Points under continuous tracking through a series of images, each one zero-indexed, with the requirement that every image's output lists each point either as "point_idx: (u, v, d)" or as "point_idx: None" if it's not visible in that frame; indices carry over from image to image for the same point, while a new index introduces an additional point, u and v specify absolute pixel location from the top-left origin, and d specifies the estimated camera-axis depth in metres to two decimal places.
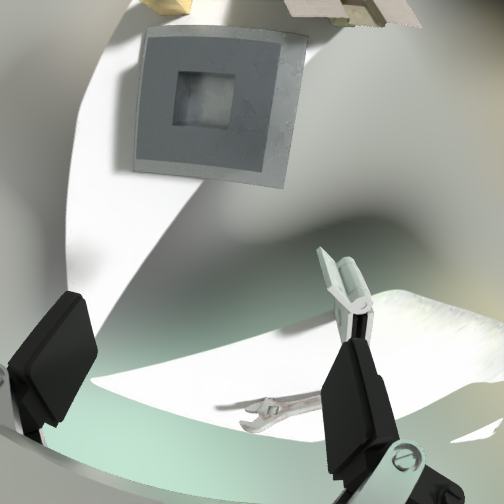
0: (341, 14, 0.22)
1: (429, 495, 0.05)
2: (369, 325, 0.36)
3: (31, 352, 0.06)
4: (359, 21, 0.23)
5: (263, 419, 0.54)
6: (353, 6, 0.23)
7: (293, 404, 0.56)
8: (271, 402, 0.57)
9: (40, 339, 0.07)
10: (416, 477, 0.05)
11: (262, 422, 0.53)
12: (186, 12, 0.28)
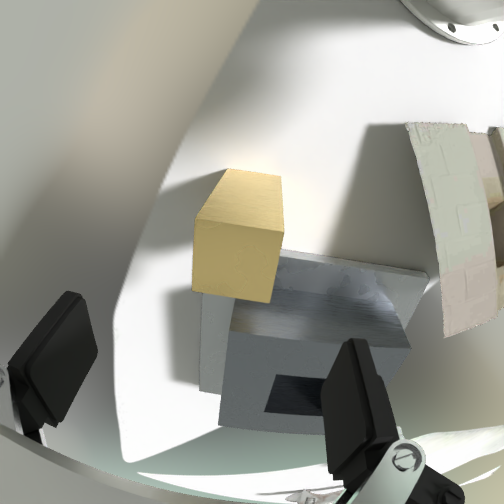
0: (492, 312, 0.17)
1: (429, 495, 0.05)
2: None
3: (31, 352, 0.06)
4: (501, 300, 0.18)
5: None
6: (501, 265, 0.18)
7: (327, 496, 0.52)
8: (308, 494, 0.54)
9: (40, 339, 0.07)
10: (416, 477, 0.05)
11: None
12: None
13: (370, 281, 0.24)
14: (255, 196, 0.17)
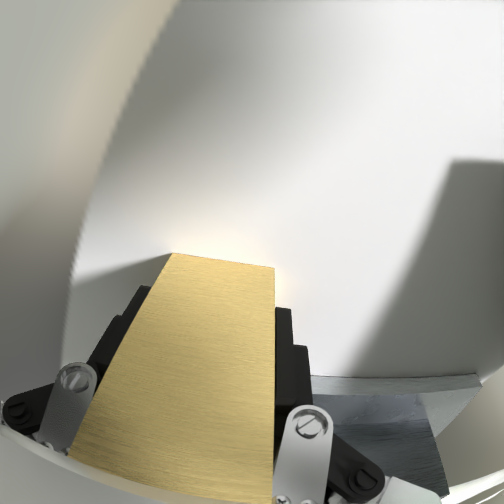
0: None
1: (339, 470, 0.06)
2: None
3: None
4: None
5: None
6: None
7: None
8: None
9: None
10: (330, 439, 0.06)
11: None
12: None
13: (406, 405, 0.14)
14: (207, 379, 0.07)
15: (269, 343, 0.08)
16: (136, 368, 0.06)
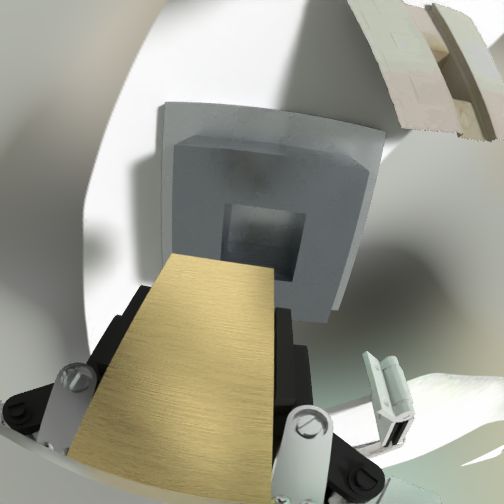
0: (455, 126, 0.17)
1: (339, 470, 0.06)
2: (408, 426, 0.32)
3: None
4: (467, 130, 0.18)
5: None
6: (458, 100, 0.18)
7: None
8: None
9: None
10: (330, 439, 0.06)
11: None
12: None
13: (322, 129, 0.24)
14: (206, 381, 0.07)
15: (268, 344, 0.08)
16: (135, 369, 0.06)
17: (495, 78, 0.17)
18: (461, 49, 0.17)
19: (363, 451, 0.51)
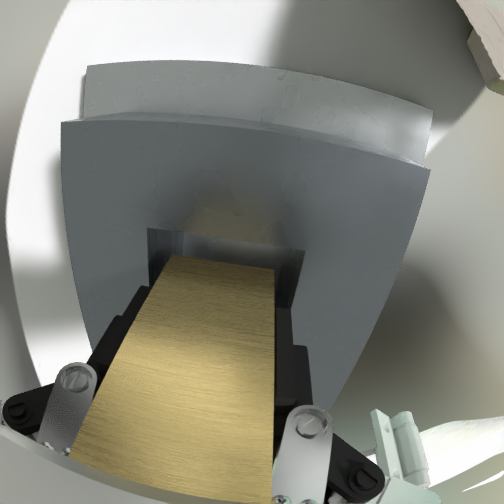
0: None
1: (339, 470, 0.06)
2: None
3: None
4: None
5: None
6: None
7: None
8: None
9: None
10: (330, 439, 0.06)
11: None
12: None
13: (333, 99, 0.14)
14: (207, 382, 0.07)
15: (269, 345, 0.08)
16: (136, 370, 0.06)
17: None
18: None
19: None
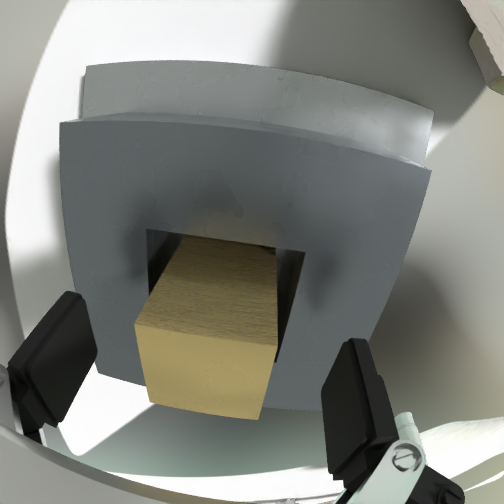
0: None
1: (429, 495, 0.05)
2: None
3: (31, 352, 0.06)
4: None
5: None
6: None
7: None
8: None
9: (40, 339, 0.07)
10: (416, 477, 0.05)
11: None
12: None
13: (334, 99, 0.14)
14: (235, 260, 0.12)
15: (272, 247, 0.13)
16: (191, 256, 0.12)
17: None
18: None
19: None
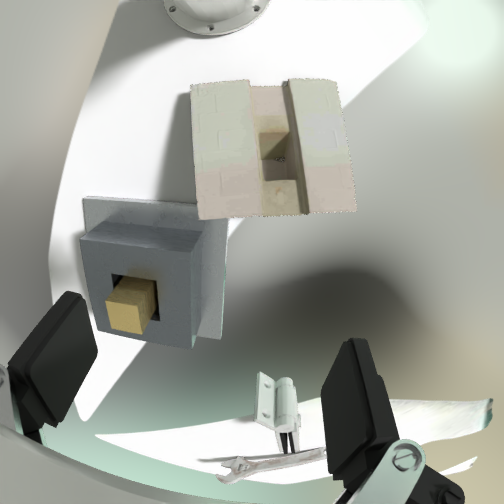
0: (255, 210, 0.28)
1: (429, 495, 0.05)
2: (295, 437, 0.42)
3: (31, 352, 0.06)
4: (279, 208, 0.29)
5: (234, 474, 0.59)
6: (280, 180, 0.29)
7: (259, 463, 0.61)
8: (242, 460, 0.62)
9: (40, 339, 0.07)
10: (416, 477, 0.05)
11: (233, 477, 0.58)
12: None
13: (179, 214, 0.36)
14: (138, 283, 0.34)
15: None
16: (125, 281, 0.34)
17: (336, 148, 0.29)
18: (298, 127, 0.28)
19: (294, 458, 0.60)
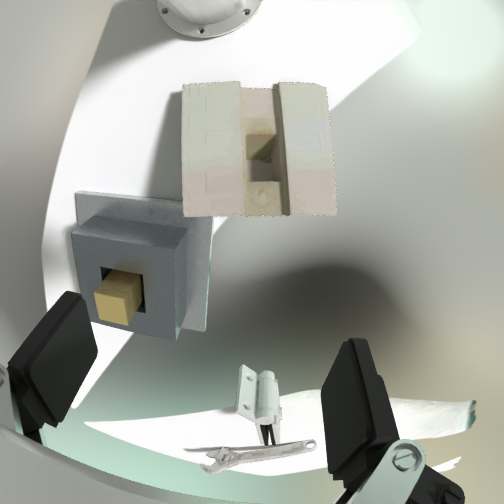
0: (237, 210, 0.29)
1: (429, 495, 0.05)
2: (275, 430, 0.44)
3: (31, 352, 0.06)
4: (262, 208, 0.30)
5: (218, 464, 0.62)
6: (264, 181, 0.30)
7: (243, 454, 0.63)
8: (226, 451, 0.65)
9: (40, 339, 0.07)
10: (416, 477, 0.05)
11: (217, 467, 0.61)
12: None
13: (167, 211, 0.37)
14: (126, 276, 0.35)
15: None
16: (113, 274, 0.35)
17: (320, 153, 0.30)
18: (284, 130, 0.29)
19: (277, 450, 0.63)
